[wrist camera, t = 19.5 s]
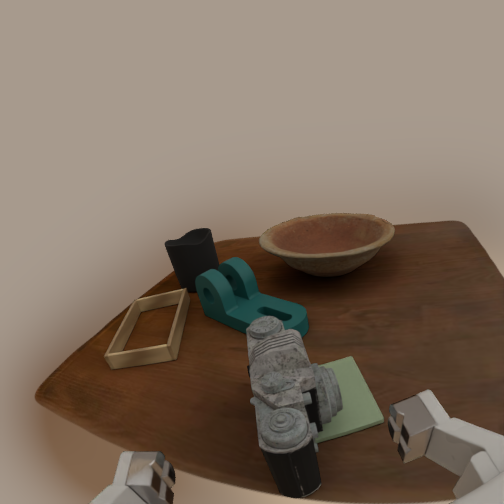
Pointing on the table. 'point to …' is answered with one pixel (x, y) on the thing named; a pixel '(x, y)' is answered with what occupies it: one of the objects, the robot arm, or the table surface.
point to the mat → (350, 402)
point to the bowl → (328, 242)
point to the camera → (289, 404)
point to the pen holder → (192, 256)
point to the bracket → (244, 299)
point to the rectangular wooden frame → (154, 353)
